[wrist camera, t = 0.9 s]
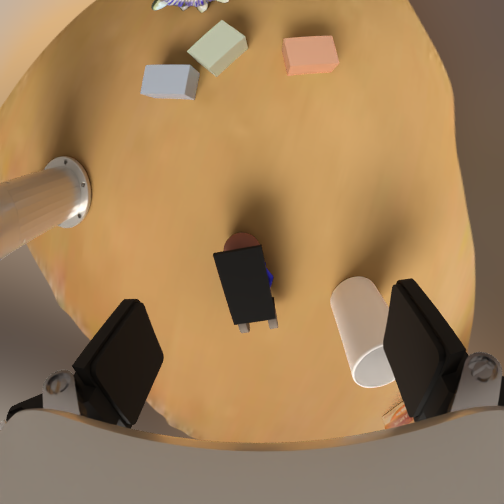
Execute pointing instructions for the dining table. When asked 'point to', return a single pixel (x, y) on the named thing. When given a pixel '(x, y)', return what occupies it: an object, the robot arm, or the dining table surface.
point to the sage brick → (219, 48)
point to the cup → (363, 330)
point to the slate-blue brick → (170, 81)
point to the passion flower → (184, 4)
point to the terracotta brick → (309, 55)
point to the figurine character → (246, 281)
